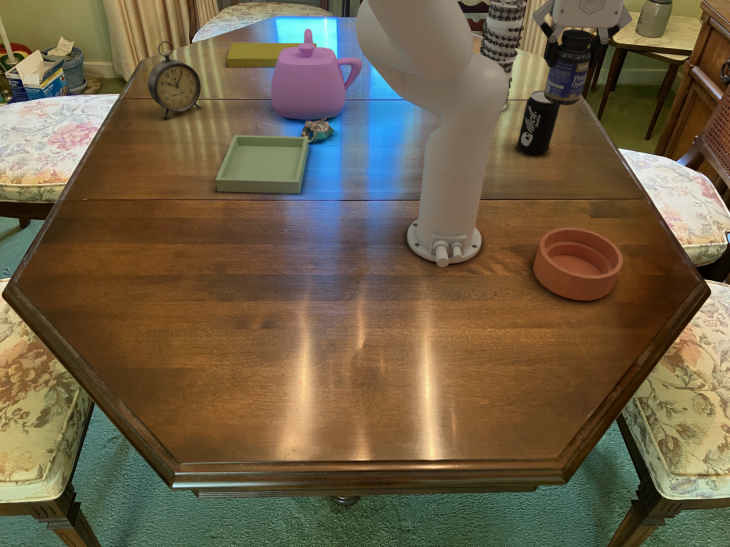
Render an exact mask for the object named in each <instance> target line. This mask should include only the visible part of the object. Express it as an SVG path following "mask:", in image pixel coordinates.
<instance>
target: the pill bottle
mask: <svg viewBox="0 0 730 547" xmlns="http://www.w3.org/2000/svg"><path fill="white" fill-rule="evenodd" d="M592 39H593V34H592V33H591V32H589V31H587V30H583V29H579V28H569V29H564V30H563V31H562V33H561V39H560V41H561V44H559V46H558V50H557V54H556V58H555V62H554V66H552V67H549V69H548V74H547V78H546V81H545V87H544V90H545V91H544V97H545V98H546V99H547V100H548V101H550V102H552V103H556V104H560V106H572V105H574V104H576V103H577V102H579V101H580V98H581V94H582V92H583V87H584V84H585V80H586V76H587V73H588V70H589V63H590V59H591V55H592V54H591V51H590V50H589V47H590V44H591V40H592Z"/></svg>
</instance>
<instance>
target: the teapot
mask: <svg viewBox="0 0 730 547" xmlns="http://www.w3.org/2000/svg"><path fill="white" fill-rule="evenodd" d="M301 43H302V44H299V45H298V47H290V48H285V49H283V50H282V51H281V52H280V54H279V57H278V60H277V63H276V66H275V67H274V69H273V74H272V77H271V86H270V87H271V88H270V100H271V105H272V108H273V109H274V110H275V112H276V113H277V114H278V115H279V116H280V117H282V118H287V119H293V120H321V119H323V118H326V119H331V118H334V117H337V116H339V114H340V113H341V111H342V110H343V108H344V106H345V102H346V98H347V90H348V89H349V88H350V87H351V86H352V84H353V83H354V82H355V81H356V80H357V78H358V76H359V75H360V73H361V71H362V68H363V63H362V60H361V59H359V58H357V57H343V58H338V57H337V55H336V53H335V51H334V50H333V49H332V48H329V47H323V46H322V47H321V46H317V47H315V45H314V44H313V43H314V40H313V31H312V29H310V28H306V29H304V32H303V42H301ZM341 66H350V67H351V70H350V73H349V75H348V77H347V79H346V81H345V79H344V78H345V77H344V74H343V71H342V68H341Z"/></svg>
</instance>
